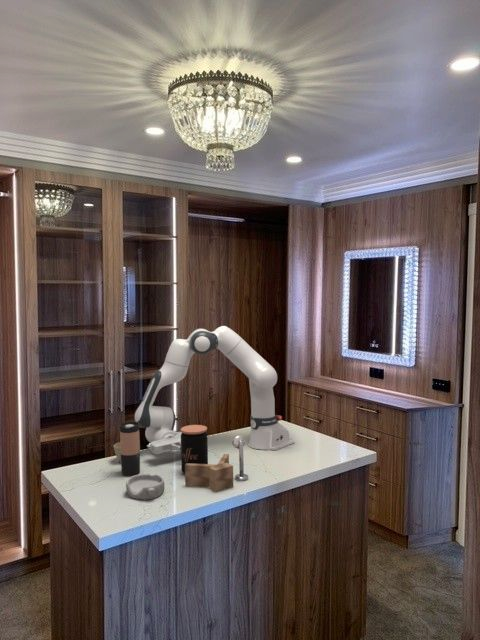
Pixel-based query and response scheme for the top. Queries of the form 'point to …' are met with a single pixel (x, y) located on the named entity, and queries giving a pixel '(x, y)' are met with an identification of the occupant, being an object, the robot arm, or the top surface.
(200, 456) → the coffee jar
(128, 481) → the dish
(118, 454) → the flower pot
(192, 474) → the wooden l-shaped bracket
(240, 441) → the metal ball stand
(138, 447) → the travel mug
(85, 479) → the top surface
